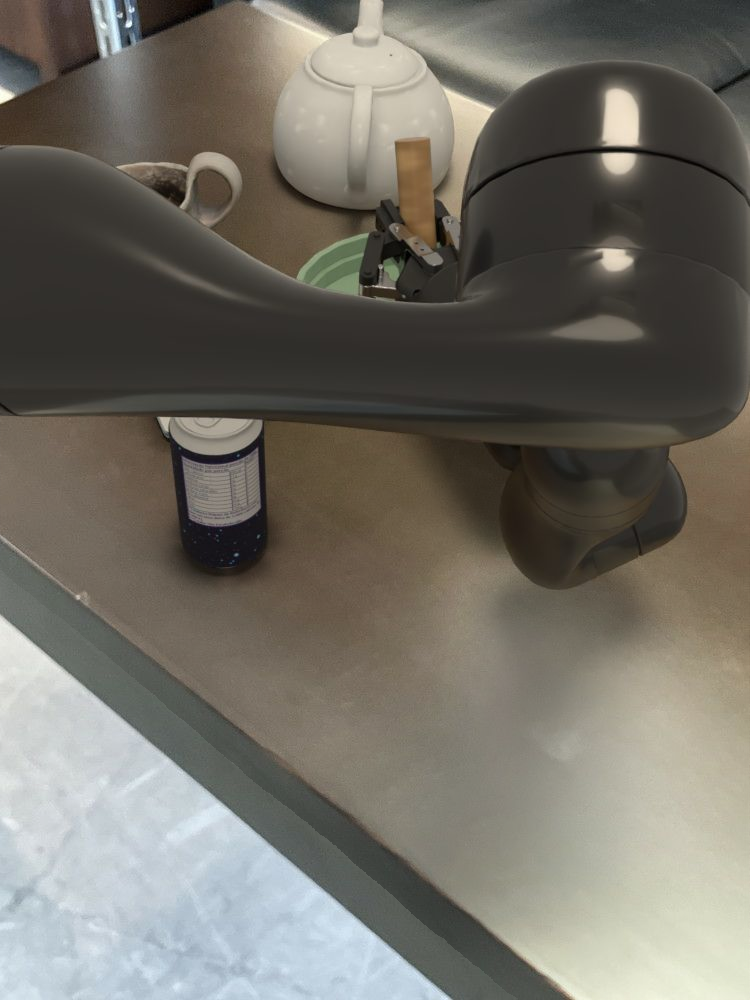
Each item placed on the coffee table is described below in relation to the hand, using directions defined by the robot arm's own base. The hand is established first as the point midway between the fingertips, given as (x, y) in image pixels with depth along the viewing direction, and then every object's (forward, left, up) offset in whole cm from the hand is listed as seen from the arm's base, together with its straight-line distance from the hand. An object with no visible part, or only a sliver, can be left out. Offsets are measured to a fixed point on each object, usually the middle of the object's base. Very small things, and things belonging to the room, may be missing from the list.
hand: (403, 207), depth 88 cm
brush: (+2, -7, -8) cm, 10 cm away
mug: (-19, +7, -10) cm, 22 cm away
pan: (+1, -3, -10) cm, 10 cm away
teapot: (-2, +22, -10) cm, 24 cm away
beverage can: (-13, -26, -10) cm, 31 cm away
